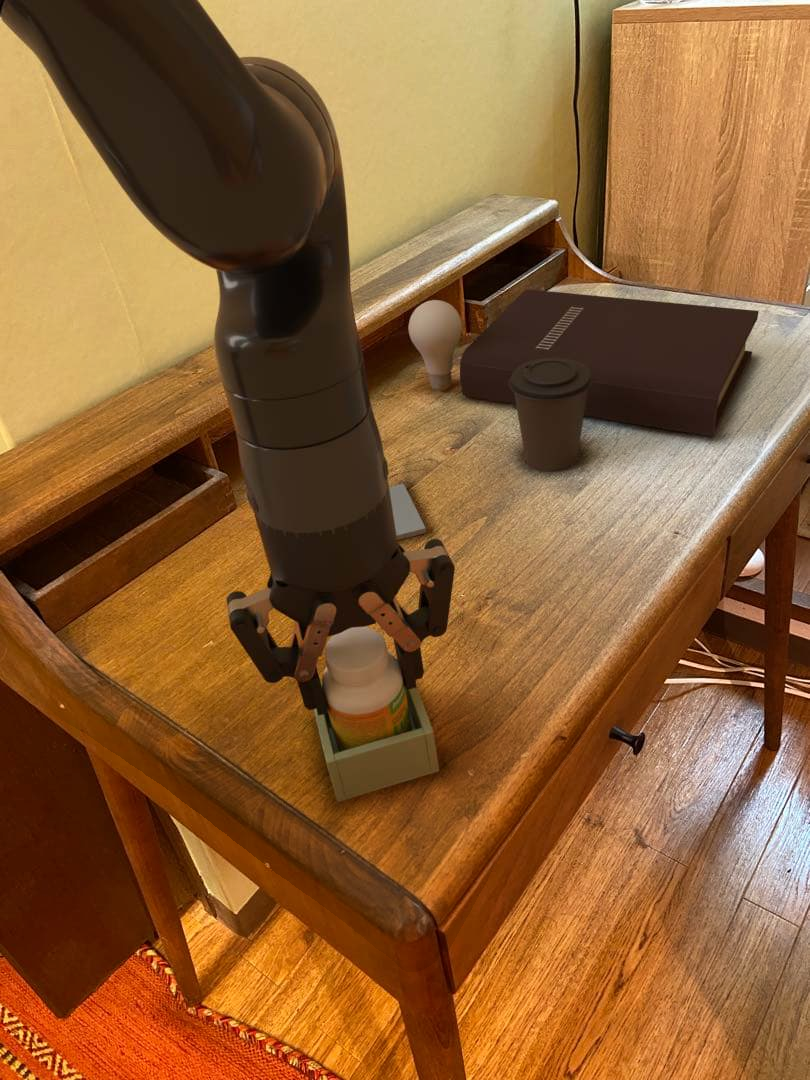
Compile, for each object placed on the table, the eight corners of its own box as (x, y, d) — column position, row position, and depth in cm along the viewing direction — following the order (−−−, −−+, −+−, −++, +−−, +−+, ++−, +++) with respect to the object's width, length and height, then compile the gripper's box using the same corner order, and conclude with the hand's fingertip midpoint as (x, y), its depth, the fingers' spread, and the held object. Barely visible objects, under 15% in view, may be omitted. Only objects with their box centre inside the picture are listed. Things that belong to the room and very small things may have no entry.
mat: (333, 557, 76) (332, 552, 76) (318, 509, 82) (317, 505, 82) (426, 532, 77) (425, 527, 77) (404, 488, 83) (403, 483, 83)
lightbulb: (440, 373, 102) (432, 287, 95) (477, 386, 98) (471, 298, 91) (405, 393, 99) (394, 306, 92) (442, 407, 95) (433, 318, 88)
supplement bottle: (413, 773, 56) (396, 676, 50) (335, 777, 56) (309, 682, 50) (414, 710, 60) (398, 615, 54) (341, 715, 61) (317, 621, 55)
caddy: (337, 802, 55) (326, 763, 53) (318, 722, 61) (307, 683, 58) (439, 771, 56) (433, 731, 54) (411, 695, 62) (404, 655, 59)
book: (461, 403, 95) (457, 356, 92) (526, 332, 108) (525, 289, 104) (710, 444, 83) (717, 392, 79) (751, 359, 96) (758, 310, 92)
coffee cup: (504, 442, 88) (500, 356, 82) (579, 431, 88) (581, 344, 82) (520, 484, 81) (516, 395, 75) (601, 472, 81) (604, 381, 75)
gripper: (426, 423, 48) (449, 627, 59) (183, 481, 46) (252, 682, 57) (466, 490, 43) (484, 704, 53) (191, 560, 41) (266, 767, 51)
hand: (364, 691), depth 55 cm, fingers closed on supplement bottle, 5 cm apart
